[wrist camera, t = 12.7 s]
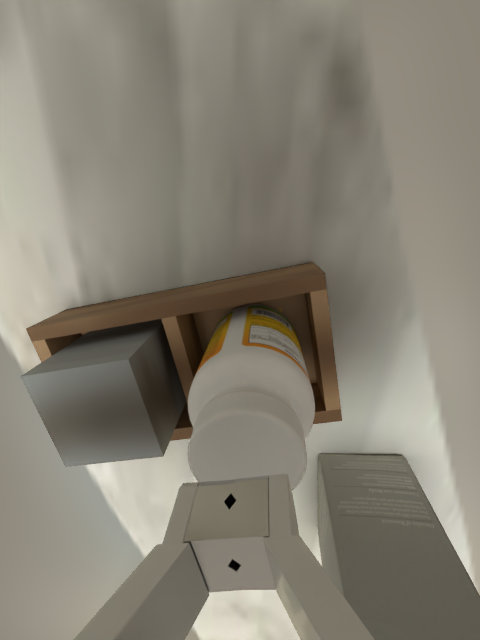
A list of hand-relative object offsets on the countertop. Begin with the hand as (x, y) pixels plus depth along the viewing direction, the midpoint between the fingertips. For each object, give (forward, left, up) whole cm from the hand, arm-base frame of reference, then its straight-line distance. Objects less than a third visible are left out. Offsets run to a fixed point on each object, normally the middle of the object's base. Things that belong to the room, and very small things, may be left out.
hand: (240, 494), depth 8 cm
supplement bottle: (0, 0, -11) cm, 11 cm away
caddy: (0, -4, -12) cm, 12 cm away
